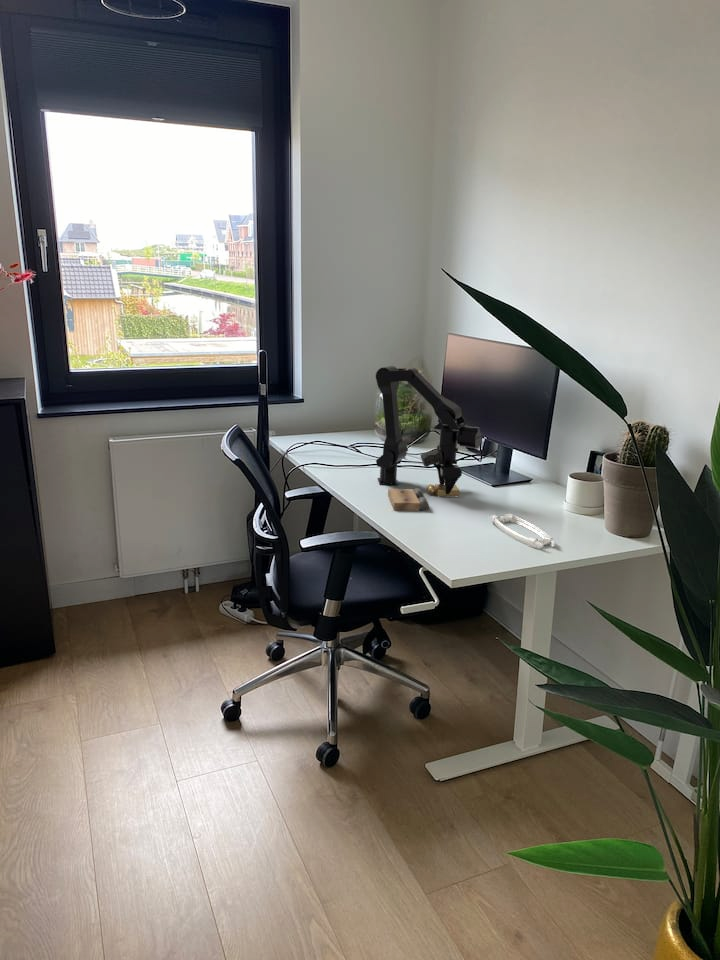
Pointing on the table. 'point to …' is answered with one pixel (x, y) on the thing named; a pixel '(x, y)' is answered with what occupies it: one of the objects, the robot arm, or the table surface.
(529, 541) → the door handle
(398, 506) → the tan flat piece
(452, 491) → the tan knobbed block
